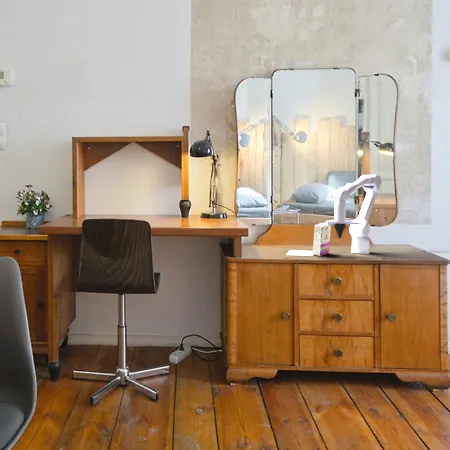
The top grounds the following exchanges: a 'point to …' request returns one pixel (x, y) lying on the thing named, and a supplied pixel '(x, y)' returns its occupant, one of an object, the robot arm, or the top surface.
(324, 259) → the top surface
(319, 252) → the candy bar box
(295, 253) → the mat
